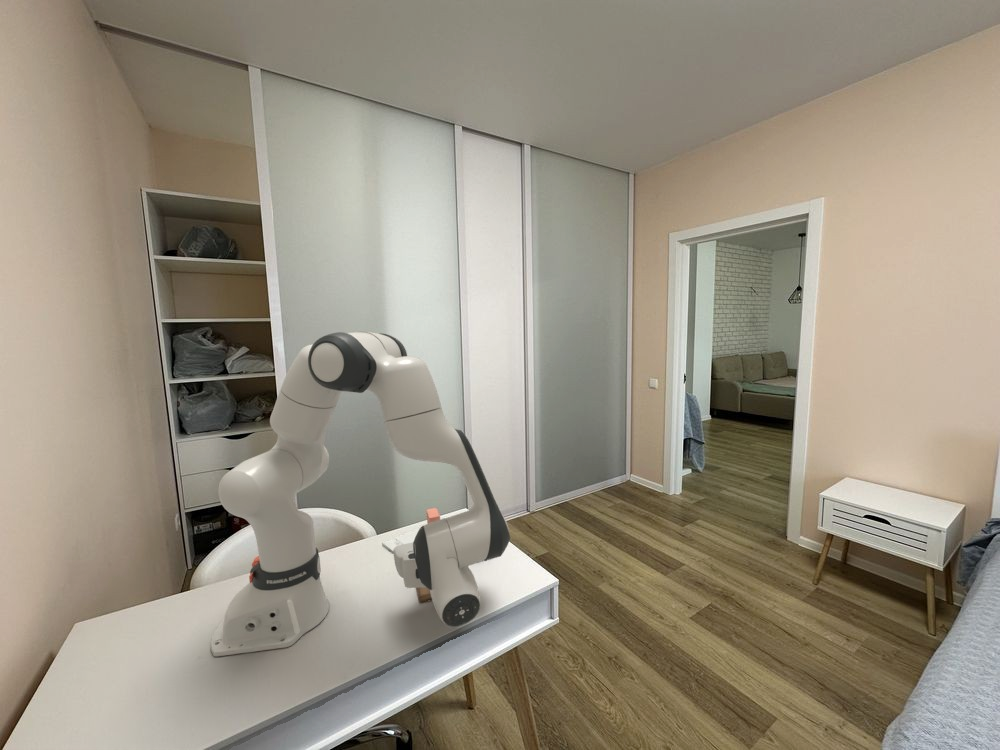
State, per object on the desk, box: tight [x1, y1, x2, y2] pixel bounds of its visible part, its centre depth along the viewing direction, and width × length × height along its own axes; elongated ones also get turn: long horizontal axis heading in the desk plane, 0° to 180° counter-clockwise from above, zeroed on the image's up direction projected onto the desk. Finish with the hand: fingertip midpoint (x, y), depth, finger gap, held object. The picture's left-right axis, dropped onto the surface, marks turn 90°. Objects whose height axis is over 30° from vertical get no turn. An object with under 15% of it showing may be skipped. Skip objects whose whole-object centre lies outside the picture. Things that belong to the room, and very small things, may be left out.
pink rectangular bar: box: [425, 507, 441, 524], centre depth 98 cm, size 2×5×14 cm, turn 19°
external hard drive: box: [381, 527, 421, 555], centre depth 121 cm, size 2×8×12 cm
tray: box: [415, 588, 432, 604], centre depth 99 cm, size 10×10×2 cm
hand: (434, 534), depth 99 cm, fingers closed on pink rectangular bar, 2 cm apart
